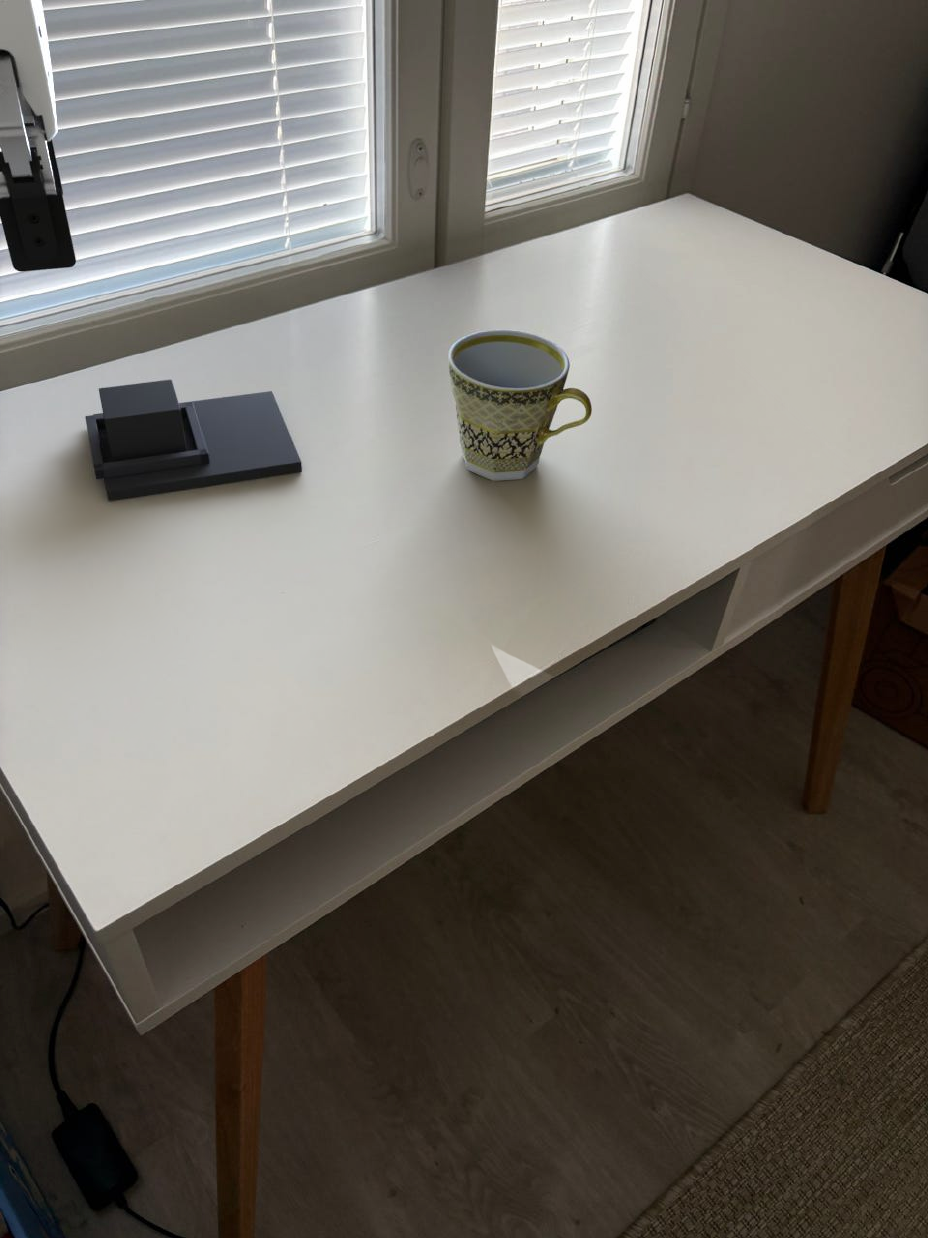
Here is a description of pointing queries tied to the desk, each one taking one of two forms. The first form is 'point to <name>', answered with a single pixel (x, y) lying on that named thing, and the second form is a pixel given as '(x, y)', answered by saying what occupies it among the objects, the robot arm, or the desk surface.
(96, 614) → the desk surface
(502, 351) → the ceramic cup
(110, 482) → the base pad
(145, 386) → the dark grey block
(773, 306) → the desk surface
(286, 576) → the desk surface
